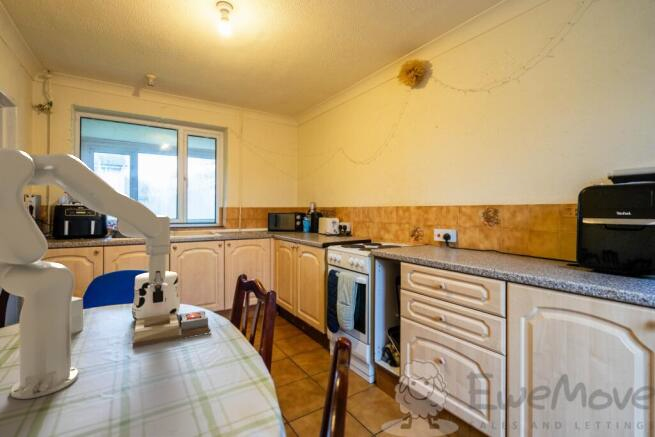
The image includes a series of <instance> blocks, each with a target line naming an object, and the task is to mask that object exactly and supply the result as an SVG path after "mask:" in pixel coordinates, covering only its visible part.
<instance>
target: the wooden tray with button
mask: <svg viewBox="0 0 655 437" xmlns="http://www.w3.org/2000/svg"><path fill="white" fill-rule="evenodd" d="M177 314H178V313H177ZM177 314H176V313H173V314H166V315H159V316H152V317H145V318H138V319H137V320H135V328H134V333H133V338H132V348H133V349H134V348H140V347H144V346H150V345H154V344H161V343H167V342H172V341H177V340H176V339H178V340H181V339H180V338H183V339H186V338H185V337H189V338H191V337H190V336H194V337H196V336H195V335H200V334H205V333H209V332H210V333H211V328H210V325H209V318H208V317H209V316H206V311H205V310H200V311H194V312H186V313H180V314H179V318H178V316H177ZM190 314H200V315H201V318H197V319H191V320H187V318H186V316H187V315H190ZM178 319H179V320H178ZM205 335H206V334H205ZM200 336H201V335H200Z"/></svg>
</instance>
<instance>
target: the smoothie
mask: <svg viewBox="0 0 655 437" xmlns="http://www.w3.org/2000/svg"><path fill="white" fill-rule="evenodd" d="M160 285H161V284H160ZM167 287H168V284H167V283H163V302H158V303H153V291H154V284H150V285H148V290H149V296H150V303H151V310H152V313H161V312H163V311H164V305H165V298H166V291H167Z"/></svg>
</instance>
